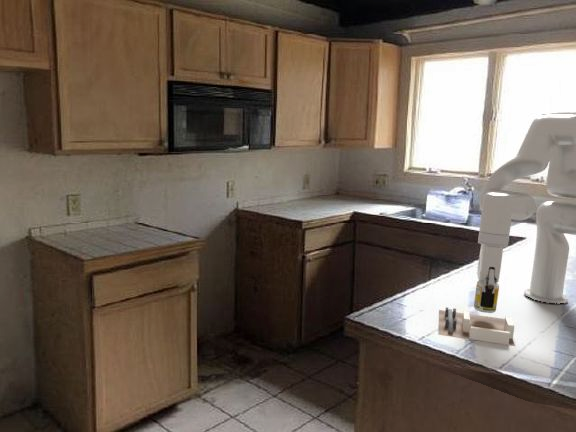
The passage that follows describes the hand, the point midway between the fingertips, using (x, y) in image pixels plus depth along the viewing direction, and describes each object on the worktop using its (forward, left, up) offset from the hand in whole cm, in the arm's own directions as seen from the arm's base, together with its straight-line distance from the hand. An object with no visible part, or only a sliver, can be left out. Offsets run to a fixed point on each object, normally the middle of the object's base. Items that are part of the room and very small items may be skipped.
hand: (485, 302), depth 137 cm
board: (+6, -3, -6) cm, 9 cm away
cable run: (+6, -9, -5) cm, 12 cm away
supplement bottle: (0, 0, -2) cm, 2 cm away
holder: (+10, 0, -5) cm, 11 cm away
